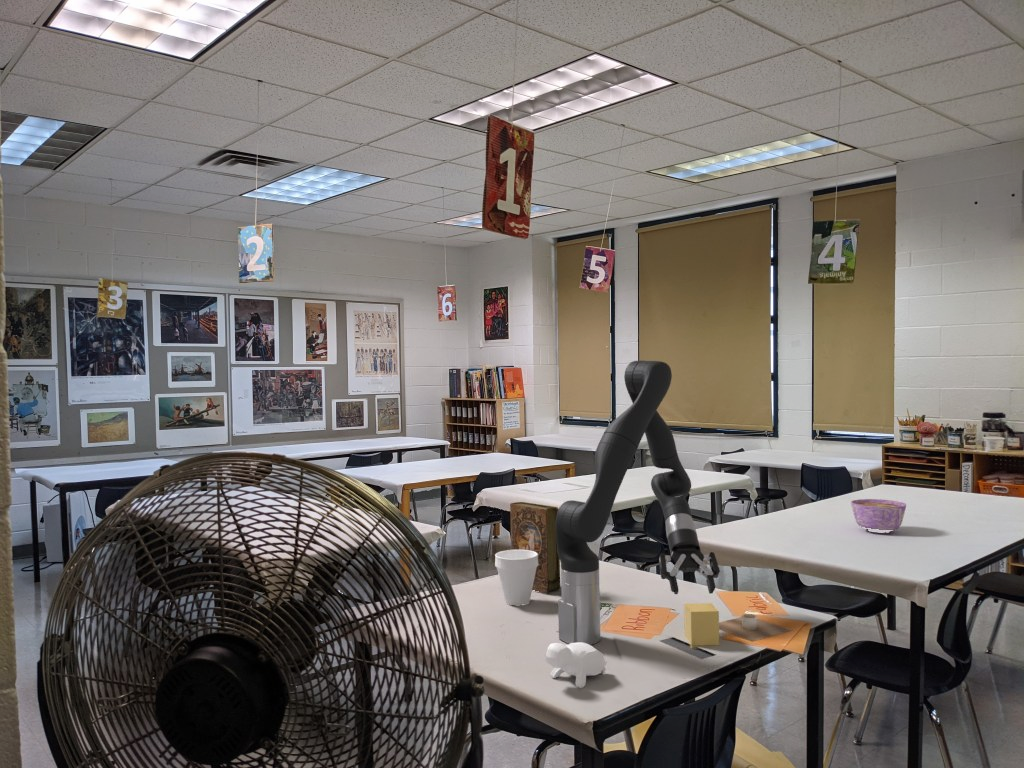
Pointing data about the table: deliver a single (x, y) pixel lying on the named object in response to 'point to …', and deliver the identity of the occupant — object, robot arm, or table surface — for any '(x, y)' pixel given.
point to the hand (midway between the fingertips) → (694, 592)
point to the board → (761, 632)
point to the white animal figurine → (575, 661)
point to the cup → (516, 574)
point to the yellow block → (701, 624)
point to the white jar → (749, 622)
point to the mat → (687, 648)
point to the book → (537, 541)
